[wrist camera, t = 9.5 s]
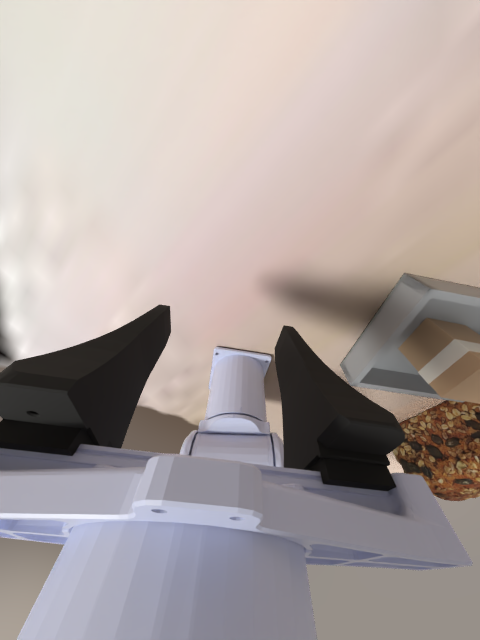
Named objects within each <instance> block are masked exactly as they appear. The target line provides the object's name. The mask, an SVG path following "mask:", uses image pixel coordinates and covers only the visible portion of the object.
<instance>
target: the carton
mask: <svg viewBox="0 0 480 640" xmlns="http://www.w3.org/2000/svg"><path fill="white" fill-rule="evenodd" d="M398 349H399V350H400V351H401V353H402V354H403V355H404V356H405V357H406V358H407V359H408V361H409V362H410V363H411V364H412V365H413V366H414V367H415V369H416V370H417V371H418V373H419V374H420V375H421V376H422V378H423V379H424V380H425V381H426V382H427V383H428V384H430V386H431V387H432V388H433V389H434V390H435V391H436V392H437V394H438V395H439V396H440V397H442V398H448V399H454V400H460V401H466V402H472V403H478V404H480V335H479V334H478V333H476V332H475V331H473V330H472V329H470V328H469V327H467V326H466V325H462V324H457V323H452V322H447V321H441V320H436V319H431V318H426V319H425V320H424V321H423V322H422V323H421V324H420V325H419V326H418V327H417V328H416V330H415V331H414V332H413V333H412V334H411V335H410V336H409V337H408V338H407V339H406V340H405V342H404V343H403V344H402V345H401V346H400V347H399V348H398Z"/></svg>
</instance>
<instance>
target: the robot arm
mask: <svg viewBox="0 0 480 640" xmlns="http://www.w3.org/2000/svg"><path fill="white" fill-rule="evenodd" d="M170 333H171V321H170V306H165V305H158V306H157V307H155V308H153V309H152V310H150V311H149V312H147V313H145V314H144V315H142V316H140V317H139V318H137V319H135V320H134V321H132V322H130V323H128V324H126V325H124V326H122V327H120V328H118V329H116V330H114V331H112V332H110V333H108V334H105V335H103V336H101V337H98V338H96V339H93V340H90V341H87V342H85V343H82V344H79V345H76V346H73V347H70V348H66V349H63V350H59V351H56V352H52V353H48V354H44V355H40V356H35V357H31V358H27V359H22V360H18V361H15V362H13V363H12V364H11V365H10V366H8V367H7V368H6V369H4V370H3V371H2V372H1V373H0V416H1V417H2V418H3V420H2V421H1V422H0V537H4V538H12V539H21V540H29V541H38V542H46V543H55V544H63V545H64V547H63V549H62V551H61V553H60V555H59V557H58V558H57V561H56V563H55V565H54V567H53V568H52V570H51V572H50V574H49V576H48V578H47V580H46V582H45V584H44V586H43V588H42V590H41V592H40V594H39V596H38V598H37V600H36V602H35V604H34V606H33V608H32V610H31V612H30V614H29V616H28V618H27V620H26V622H25V624H24V626H23V628H22V630H21V632H20V634H19V635H18V638H17V639H16V640H317V635H316V628H315V621H314V615H313V608H312V601H311V595H310V587H309V582H308V574H307V567H306V564H311V565H333V566H356V567H357V566H358V567H377V568H394V569H408V570H432V569H443V568H453V567H464V566H472V564H473V563H472V561H471V559H470V557H469V555H468V554H467V552H466V550H465V549H464V547H463V545H462V543H461V542H460V540H459V538H458V536H457V535H456V533H455V531H454V530H453V528H452V526H451V525H450V523H449V521H448V519H447V518H446V516H445V514H444V512H443V511H442V509H441V507H440V506H439V504H438V502H437V500H436V499H435V497H434V495H433V494H432V492H431V490H430V488H429V487H428V485H427V483H426V482H425V480H424V478H423V477H422V476H420V475H414V474H406V473H392V474H390V472H389V470H388V468H387V466H389V465H390V462H389V460H388V458H387V456H386V455H387V454H388V453H390V452H391V451H393V450H394V449H396V448H397V447H399V446H400V445H401V444H402V443H403V441H404V440H405V433H404V431H403V429H402V428H401V426H400V424H399V423H398V421H397V420H396V418H395V416H394V415H393V414H392V413H390V412H389V411H387V410H386V409H384V408H382V407H381V406H379V405H377V404H376V403H374V402H372V401H371V400H369V399H368V398H367V397H365V396H364V395H362V394H361V393H359V392H358V391H356V390H355V389H354V388H352V387H351V386H350V385H349V384H347V383H346V382H345V381H344V380H342V379H341V378H340V377H339V376H337V375H336V374H335V373H334V372H333V371H332V370H331V369H330V368H329V367H328V366H327V365H325V364H324V363H323V362H322V360H321V359H320V358H319V357H318V356H317V355H316V354H315V353H314V352H313V351H312V349H311V348H310V347H309V346H308V345H307V344H306V342H305V341H304V340H303V339H302V337H301V336H300V335H299V334H298V332H297V331H296V330H295V329H294V328H293V327H290V326H283V329H282V331H281V334H280V336H279V339H278V342H277V344H276V347H275V364H276V370H277V376H278V381H279V387H280V393H281V400H282V414H283V441H284V445H283V442H282V440H281V439H280V438H279V436H278V435H277V433H270V425H269V422H267V419H266V404H265V390H264V377H265V375H266V372H267V369H268V367H269V364H270V362H271V356H270V355H266V354H260V353H254V352H247V351H241V350H235V349H228V348H222V347H215V349H214V354H213V361H212V368H211V376H210V383H209V390H210V394H209V399H208V404H207V410H206V415H205V420H201V421H200V424H199V430H193V431H192V432H191V433H190V434H189V435H188V437H187V438H186V439H185V441H184V443H183V445H182V448H181V451H180V454H163V453H155V452H146V451H136V450H129V449H121V447H122V444H123V441H124V438H125V435H126V432H127V429H128V427H129V424H130V421H131V419H132V416H133V413H134V411H135V408H136V406H137V403H138V400H139V398H140V395H141V393H142V391H143V388H144V386H145V384H146V381H147V379H148V377H149V375H150V373H151V371H152V370H153V368H154V366H155V364H156V362H157V361H158V359H159V357H160V355H161V353H162V352H163V350H164V348H165V346H166V344H167V341H168V338H169V336H170ZM266 360H268V361H266Z"/></svg>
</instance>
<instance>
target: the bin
mask: <svg viewBox="0 0 480 640" xmlns="http://www.w3.org/2000/svg"><path fill="white" fill-rule="evenodd" d="M426 318H431V319H436V320H441V321H447V322H452V323H457V324H462V325H466V326H467V327H469V328H470V329H472V330H473V331H475V332H476V333H478V334H479V335H480V288H478V287H473V286H468V285H463V284H458V283H453V282H447V281H442V280H437V279H432V278H427V277H422V276H417V275H412V274H407V273H404V274H403V276H402V277H401V278H400V280H399V281H398V283H397V284H396V286H395V287H394V288H393V290H392V291H391V293H390V294H389V296H388V297H387V298H386V300H385V301H384V303H383V304H382V306H381V307H380V308H379V310H378V311H377V313H376V314H375V316H374V317H373V318H372V320H371V321H370V323H369V324H368V326H367V327H366V328H365V330H364V331H363V333H362V334H361V336H360V337H359V338H358V340H357V341H356V343H355V344H354V346H353V347H352V348H351V350H350V351H349V353H348V354H347V356H346V357H345V358H344V360H343V361H342V363H341V364H340V366H341V368H342V370H343V372H344V374H345V376H346V378H347V380H348V382H349V384H350V386H356V387H363V388H369V389H376V390H383V391H390V392H396V393H403V394H410V395H416V396H423V397H430V398H436V399H443V400H450V401H456V402H465V401H460V400H454V399H448V398H442V397H440V396H439V395H438V394H437V392H436V391H435V390H434V389H433V388H432V387H431V386H430V384H428V383H427V382H426V381H425V380H424V379H423V378H422V376H421V375H420V374H419V373H418V371H417V370H416V369H415V367H414V366H413V365H412V364H411V363H410V362H409V361H408V359H407V358H406V357H405V356H404V355H403V354H402V353H401V351H400V350H399V349H398V348H399V347H400V346H401V345H402V344H403V343H404V342H405V340H406V339H407V338H408V337H409V336H410V335H411V334H412V333H413V332H414V331H415V330H416V328H417V327H418V326H419V325H420V324H421V323H422V322H423V321H424V320H425V319H426Z"/></svg>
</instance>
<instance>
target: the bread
mask: <svg viewBox="0 0 480 640" xmlns="http://www.w3.org/2000/svg"><path fill="white" fill-rule="evenodd" d="M400 426H401V428H402V429H403V431H404V433H405V440H404V441H403V443H402V444H401V445H400V446H399V447H397V448H396V449H394V450H393V453H394V455H395V457H396V460H397V461H398V462H399V463H400V464H401V465H402V468H403V470H404V473H406V474H414V475H420V476H422V477H423V478H424V480H425V482H426V483H427V485H428V487H429V488H430V490H431V492H432V494H433V495H434V496H437V497H439V498H441V499H444V500H450V501H462V500H466V499H469V498H476V497H479V496H480V404H478V403H472V402H466V401H465V402H456V401H450V400H446V401H444V402H443V403H442V404H439V405H437V406H435V407H432V408H431V409H428V410H426V411H424V412H423V413H420V414H419V415H418V416H416V417H414V418H410V419H408V420H406V421H403V422H401V423H400Z"/></svg>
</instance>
